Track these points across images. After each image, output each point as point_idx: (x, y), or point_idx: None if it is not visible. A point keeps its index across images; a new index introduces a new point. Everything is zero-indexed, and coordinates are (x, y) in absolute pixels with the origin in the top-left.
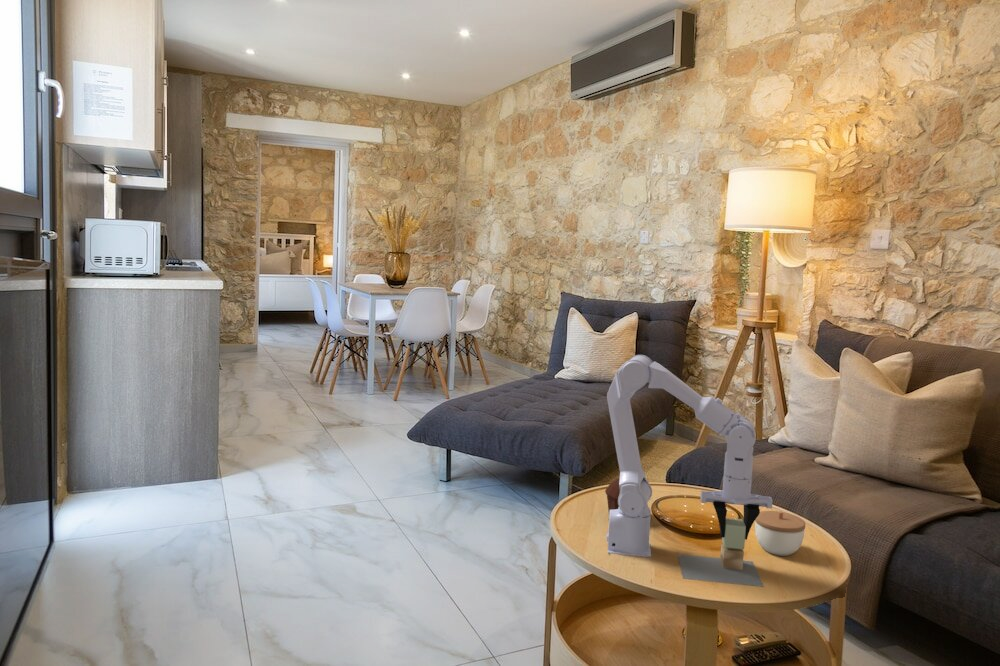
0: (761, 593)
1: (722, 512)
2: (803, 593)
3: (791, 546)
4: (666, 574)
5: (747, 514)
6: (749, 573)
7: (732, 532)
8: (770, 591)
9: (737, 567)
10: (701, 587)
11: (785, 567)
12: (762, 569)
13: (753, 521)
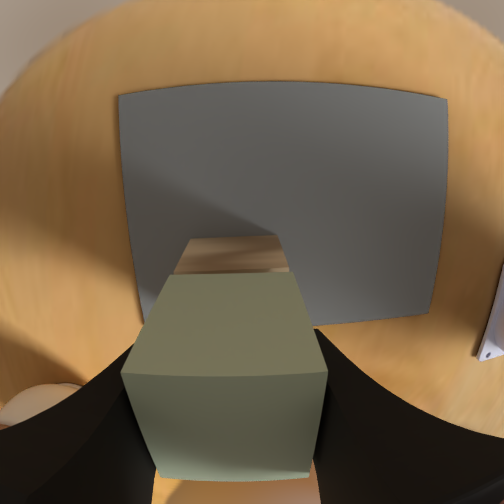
0: (140, 50)
1: (438, 461)
2: (6, 121)
3: (23, 392)
4: (484, 143)
5: (70, 481)
6: (163, 211)
7: (252, 331)
8: (101, 82)
9: (212, 239)
10: (383, 47)
11: (47, 316)
12: (112, 282)
13: (42, 412)
